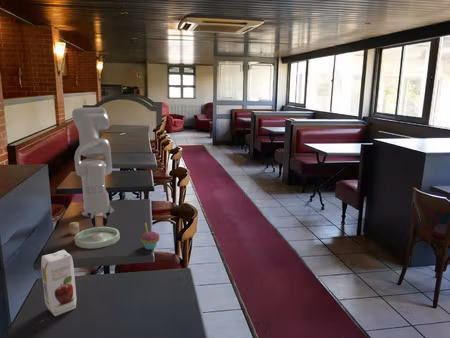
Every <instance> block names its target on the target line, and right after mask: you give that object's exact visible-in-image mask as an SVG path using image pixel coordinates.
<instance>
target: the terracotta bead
mask: <svg viewBox="0 0 450 338" xmlns="http://www.w3.org/2000/svg"><path fill="white" fill-rule="evenodd" d="M103 218H104V215H103V214H99V215H95V226H94V228H96V227H105V226H104V223H103Z"/></svg>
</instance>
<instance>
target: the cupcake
mask: <svg viewBox="0 0 450 338" xmlns="http://www.w3.org/2000/svg"><path fill="white" fill-rule="evenodd" d="M144 226H145V230H146V232H144V233H142V234H141V235H140V237H139V239H140V242H141V243H142V244H143V246H144V249H146V250H154V249H156V247H157V243H158V242H159V241H160V235H159V234H158V233H157V232H155V231H149V230H148V225H147V223H146V222H144Z"/></svg>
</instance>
